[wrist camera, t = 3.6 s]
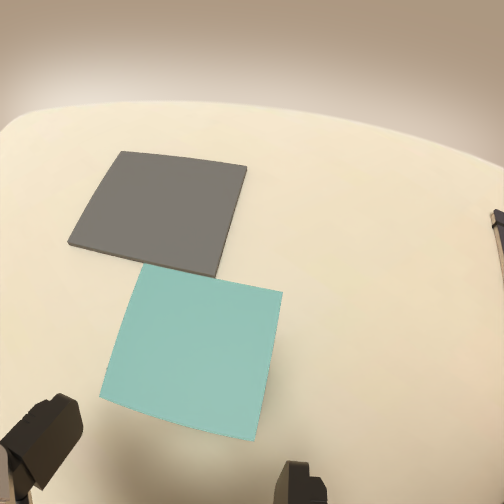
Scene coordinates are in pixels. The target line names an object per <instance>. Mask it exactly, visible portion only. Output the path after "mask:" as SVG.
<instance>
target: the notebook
mask: <svg viewBox="0 0 504 504" xmlns="http://www.w3.org/2000/svg"><path fill="white" fill-rule="evenodd" d="M491 220H492V224H493V225H492V228H494V232H495V237H496V241H497V246H498V251H499V256H500V262H501V268H502V274H503V281H504V212H502V211H499V210H497V209H495V210H494V213H493V214H492V216H491Z"/></svg>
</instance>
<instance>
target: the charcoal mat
mask: <svg viewBox="0 0 504 504" xmlns="http://www.w3.org/2000/svg"><path fill="white" fill-rule="evenodd" d="M246 171H247V166H242V165H236V164H230V163H223V162H216V161H209V160H201V159H194V158H186V157H177V156H168V155H159V154H149V153H138V152H126V151H121V152H120V154H119V155H118V156H117V158H116V159H115V161H114V162H113V164H112V166H111V167H110V169H109V170H108V172H107V173H106V175H105V176H104V178H103V180H102V181H101V183H100V184H99V186H98V188H97V189H96V191H95V193H94V194H93V196H92V198H91V199H90V201H89V203H88V205H87V206H86V208H85V210H84V212H83V213H82V215H81V217H80V219H79V221H78V222H77V224H76V226H75V228H74V230H73V232H72V234H71V236H70V237H69V239H68V241H67V242H68V244H69V245H72V246H76V247H80V248H84V249H88V250H92V251H96V252H100V253H104V254H108V255H113V256H117V257H121V258H125V259H130V260H134V261H138V262H143V263H147V264H151V265H156V266H160V267H165V268H169V269H174V270H178V271H183V272H188V273H192V274H197V275H202V276H206V277H211V278H215V276H216V273H217V269H218V266H219V262H220V259H221V255H222V252H223V248H224V245H225V241H226V238H227V234H228V231H229V228H230V224H231V221H232V217H233V214H234V211H235V207H236V204H237V201H238V197H239V194H240V191H241V187H242V184H243V181H244V178H245V174H246Z"/></svg>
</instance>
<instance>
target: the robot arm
mask: <svg viewBox="0 0 504 504" xmlns="http://www.w3.org/2000/svg"><path fill="white" fill-rule="evenodd" d="M82 433H83V423H82V419H81V415H80V411H79V406H78V403H77V401H76V400H74V399H72V398H70V397H68V396H65V395H63V394H61V393H58V394H57V395H55V396H54V397H53V399H52V400H51V401H48V400H47V399H46V400H44V401H42V402H40V403H37V404H36V405H35V406H34V407H33V408H32V409H31V410H30V411H29V412H28V414H26V415H25V416H24V417H23V418H22V420H20V421H19V422H18V423H17V424H16V425H15V426H14V427H13V428H12V429H11V430H10V431H9V432H8V434H7V435H6V436H5V437H4V438H3V439H2V440H1V441H0V504H33V502H32V495H31V491H30V489H31V488H32V487H33V485H34V486H36V487H37V488H39V489H40V490H42V491H43V489H44V488H45V486H46V485H47V484H48V482H49V481H50V479H51V478H52V476H53V475H54V474H55V472H56V471H57V469H58V468H59V467H60V465H61V464H62V463H63V461H64V460H65V458H66V457H67V456H68V454H69V453H70V451H71V450H72V449H73V447H74V446H75V445H76V443H77V442H78V440H79V439H80V438H81V435H82ZM273 504H328V503H327V489H326V487H325V485H324V483H323V482H322V480H321V478H320V477H309V464H308V463H307V462H297V461H286V463H285V465H284V468H283V470H282V472H281V474H280V476H279V478H278V480H277V483H276V487H275V492H274V502H273Z"/></svg>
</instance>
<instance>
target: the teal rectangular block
mask: <svg viewBox="0 0 504 504" xmlns="http://www.w3.org/2000/svg"><path fill="white" fill-rule="evenodd" d="M282 294H283V292H280V291H275V290H269V289H264V288H259V287H254V286H249V285H244V284H239V283H234V282H229V281H224V280H220V279H215V278H210V277H205V276H200V275H196V274H191V273H186V272H182V271H177V270H173V269H168V268H164V267H159V266H155V265H150V264H146V263H144V264H143V267H142V269H141V272H140V275H139V277H138V280H137V282H136V285H135V288H134V290H133V293H132V296H131V298H130V301H129V304H128V307H127V310H126V312H125V315H124V318H123V321H122V324H121V327H120V330H119V333H118V336H117V339H116V342H115V345H114V348H113V351H112V355H111V358H110V361H109V364H108V368H107V371H106V374H105V378H104V381H103V385H102V388H101V392H100V396H99V397H101V398H103V399H106V400H108V401H111V402H113V403H116V404H119V405H121V406H124V407H127V408H129V409H132V410H135V411H138V412H141V413H144V414H147V415H150V416H153V417H156V418H159V419H162V420H166V421H169V422H172V423H176V424H179V425H183V426H187V427H190V428H194V429H198V430H202V431H206V432H210V433H214V434H219V435H223V436H228V437H233V438H238V439H243V440H248V441H254V440H255V435H256V430H257V426H258V421H259V416H260V411H261V406H262V402H263V397H264V392H265V387H266V382H267V376H268V371H269V366H270V361H271V356H272V350H273V345H274V339H275V334H276V328H277V323H278V317H279V312H280V306H281V300H282Z"/></svg>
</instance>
